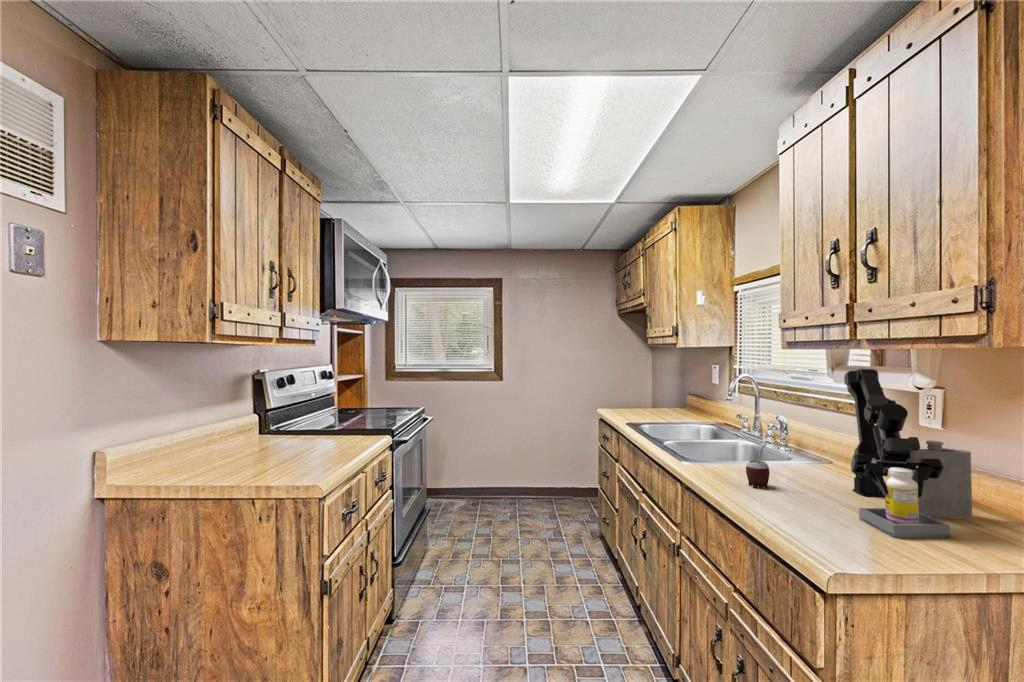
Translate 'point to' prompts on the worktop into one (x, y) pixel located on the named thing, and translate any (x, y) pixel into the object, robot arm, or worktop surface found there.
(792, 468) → the worktop surface
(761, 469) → the mate gourd
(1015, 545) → the worktop surface
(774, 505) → the worktop surface
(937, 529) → the tray
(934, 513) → the hip flask
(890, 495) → the supplement bottle
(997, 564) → the worktop surface
